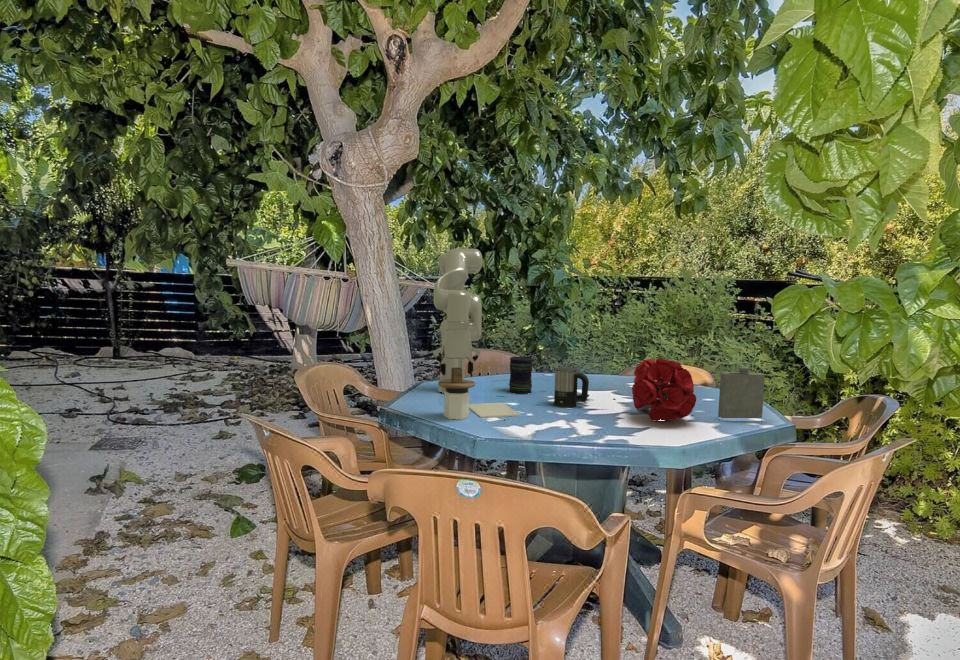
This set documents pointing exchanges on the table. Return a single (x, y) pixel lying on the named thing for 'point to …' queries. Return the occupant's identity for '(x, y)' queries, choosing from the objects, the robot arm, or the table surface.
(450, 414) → the jar
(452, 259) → the robot arm
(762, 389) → the hip flask
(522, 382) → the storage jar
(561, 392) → the milk frother
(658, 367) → the bouquet
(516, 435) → the table surface
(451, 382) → the lid
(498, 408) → the placemat
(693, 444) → the table surface
